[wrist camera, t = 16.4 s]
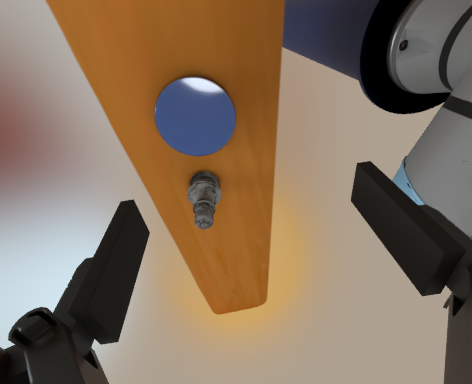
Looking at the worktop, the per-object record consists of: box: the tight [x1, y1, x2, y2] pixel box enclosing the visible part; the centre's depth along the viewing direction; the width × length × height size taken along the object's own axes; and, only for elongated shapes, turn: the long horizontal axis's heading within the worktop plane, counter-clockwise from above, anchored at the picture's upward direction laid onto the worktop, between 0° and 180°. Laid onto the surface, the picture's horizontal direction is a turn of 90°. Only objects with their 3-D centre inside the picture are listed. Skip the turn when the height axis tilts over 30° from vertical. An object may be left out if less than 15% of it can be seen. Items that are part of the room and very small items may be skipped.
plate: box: [155, 76, 236, 156], centre depth 38 cm, size 12×12×2 cm
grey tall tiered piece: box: [187, 172, 222, 230], centre depth 41 cm, size 6×6×12 cm
